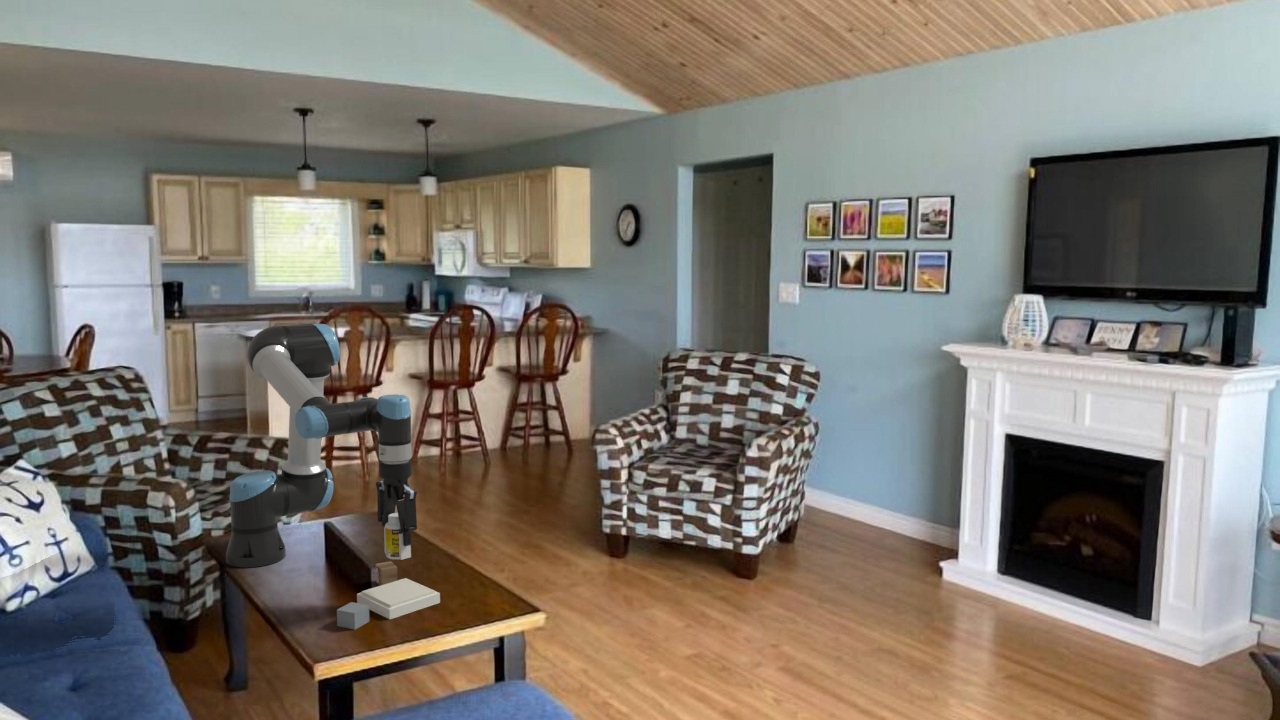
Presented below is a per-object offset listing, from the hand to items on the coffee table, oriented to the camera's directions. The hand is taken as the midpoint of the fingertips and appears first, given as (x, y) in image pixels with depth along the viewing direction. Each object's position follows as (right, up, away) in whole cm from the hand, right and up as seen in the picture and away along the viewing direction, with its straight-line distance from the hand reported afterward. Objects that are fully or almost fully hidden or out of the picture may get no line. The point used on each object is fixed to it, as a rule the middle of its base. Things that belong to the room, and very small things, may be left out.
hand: (397, 554), depth 226 cm
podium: (0, -12, +2) cm, 12 cm away
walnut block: (-6, -10, +14) cm, 19 cm away
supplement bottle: (0, -1, 0) cm, 1 cm away
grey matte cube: (-7, -14, -11) cm, 19 cm away
